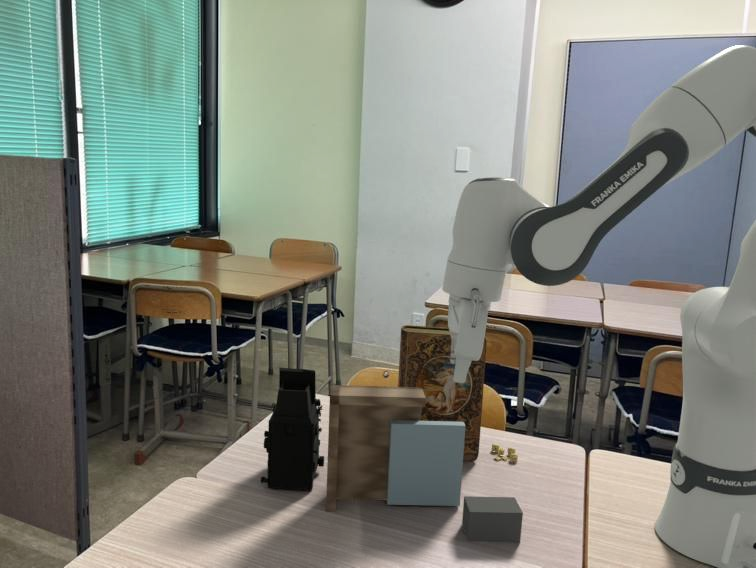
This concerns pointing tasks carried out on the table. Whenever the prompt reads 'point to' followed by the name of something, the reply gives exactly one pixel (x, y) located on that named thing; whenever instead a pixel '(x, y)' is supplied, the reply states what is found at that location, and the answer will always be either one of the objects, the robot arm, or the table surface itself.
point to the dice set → (501, 452)
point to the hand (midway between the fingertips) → (456, 371)
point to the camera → (294, 432)
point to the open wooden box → (364, 438)
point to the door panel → (425, 462)
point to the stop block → (492, 519)
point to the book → (443, 381)
